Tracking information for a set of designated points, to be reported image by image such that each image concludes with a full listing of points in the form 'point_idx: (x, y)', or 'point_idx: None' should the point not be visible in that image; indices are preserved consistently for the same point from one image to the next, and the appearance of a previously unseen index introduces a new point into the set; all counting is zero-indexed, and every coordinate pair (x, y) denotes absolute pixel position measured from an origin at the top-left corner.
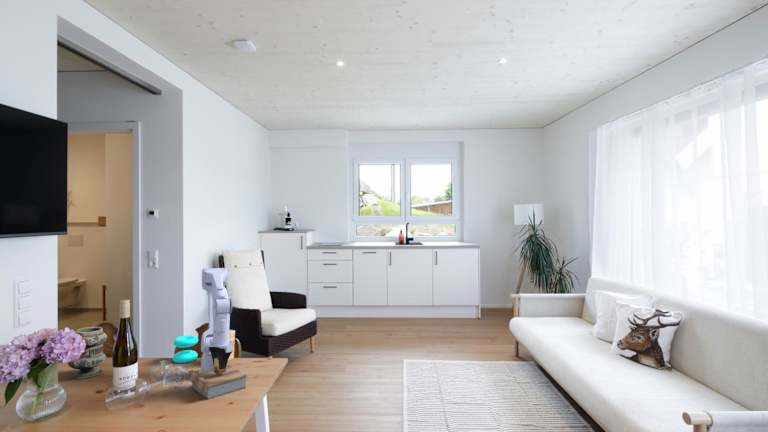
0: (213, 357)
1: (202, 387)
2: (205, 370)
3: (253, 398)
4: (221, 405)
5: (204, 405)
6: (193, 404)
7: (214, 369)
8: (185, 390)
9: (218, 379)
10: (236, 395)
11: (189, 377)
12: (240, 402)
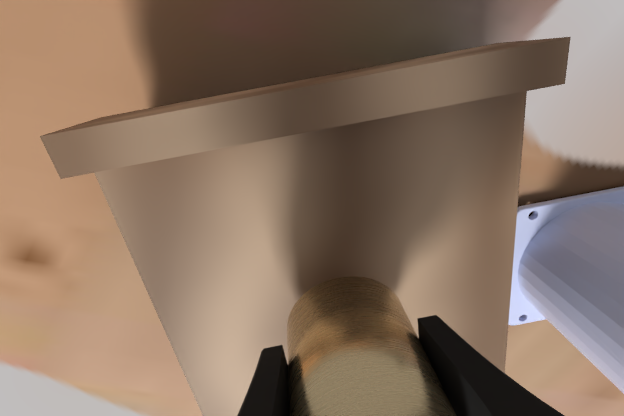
0: (478, 402)
1: (135, 112)
2: (614, 222)
3: (54, 367)
4: (5, 198)
5: (47, 93)
6: (100, 16)
7: (342, 299)
8: (430, 17)
9: (230, 274)
10: (141, 304)
11: (495, 46)
12: (17, 302)
